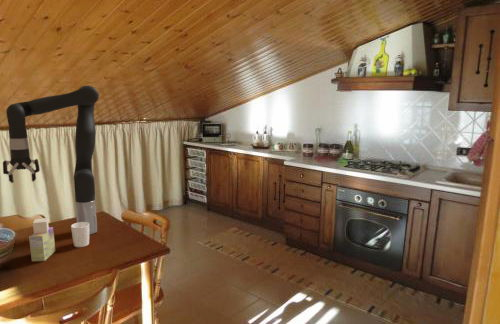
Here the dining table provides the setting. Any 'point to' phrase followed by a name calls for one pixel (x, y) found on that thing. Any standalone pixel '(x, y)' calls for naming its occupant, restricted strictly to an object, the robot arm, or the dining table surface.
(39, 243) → the box
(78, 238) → the white cup
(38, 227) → the cube
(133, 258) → the dining table surface
